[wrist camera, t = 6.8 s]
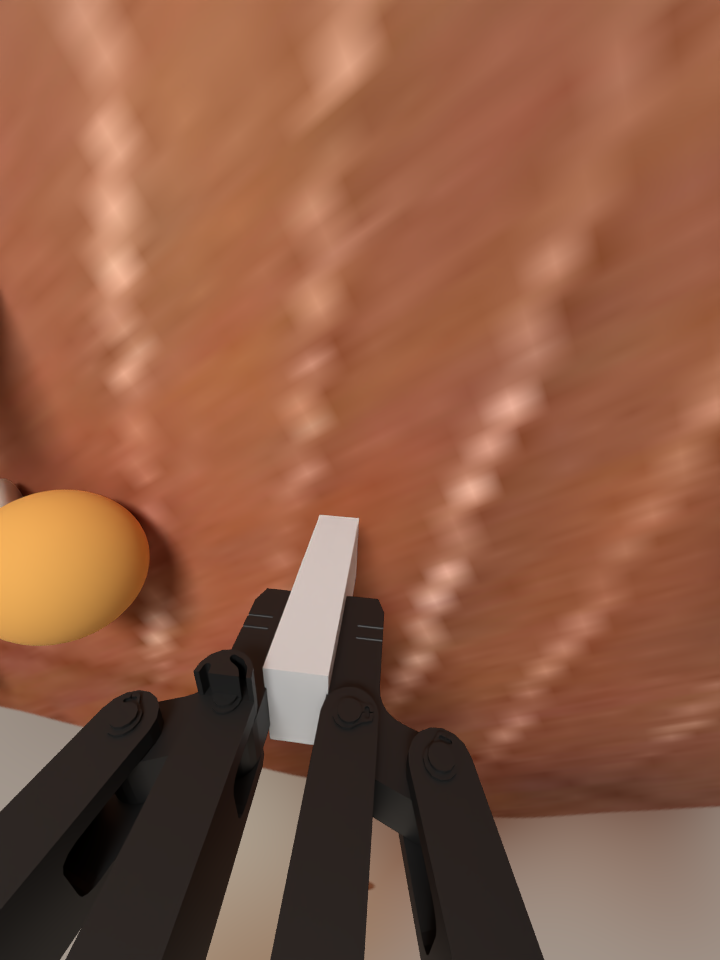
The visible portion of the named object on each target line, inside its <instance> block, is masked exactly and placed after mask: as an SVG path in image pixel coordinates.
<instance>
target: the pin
mask: <svg viewBox="0 0 720 960" xmlns="http://www.w3.org/2000/svg"><path fill="white" fill-rule="evenodd" d="M22 497H23V496H22V494H21V492H20V491H19V489H18V488H17V487H16V485H15V484H14V483H12V482H11V481H10V480H8V479H0V508H1V507H3V506H5V505H6V504H8V503H10V502H12V501H15V500H17V499H20V498H22Z"/></svg>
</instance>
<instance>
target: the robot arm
mask: <svg viewBox="0 0 720 960" xmlns="http://www.w3.org/2000/svg"><path fill="white" fill-rule="evenodd" d="M358 528H359V518H350V517H339V516H328V515H320V516H319V518H318V521H317V524H316V526H315V529H314V532H313V534H312V537H311V540H310V542H309V545H308V548H307V550H306V553H305V556H304V558H303V561H302V564H301V566H300V569H299V572H298V575H297V577H296V580H295V583H294V585H293V588H292V591H287V590H278V589H268V588H267V589H266V590H265V591H264V592H263V593H262V594H261V595H260V596H259V597H258V598H257V599H255V601H254V604H253V606H252V608H251V610H250V612H249V616H247V618H246V620H245V622H244V624H243V627H242V629H241V631H240V633H239V635H238V637H237V639H236V641H235V643H234V645H233V647H232V649H231V650H221V651H219V652H216V653H213V654H211V655H209V656H208V657H207V658H205V659H204V660H202V661H201V662H200V663H199V665H198V666H197V667H196V669H195V670H194V676H195V680H196V684H197V689H198V692H197V693H195V694H192V695H189V696H185V697H181V698H175V699H170V700H165V701H160V702H158V701H157V698H156V697H155V696H154V695H153V694H152V693H150V692H147V691H141V690H138V691H133V692H127V693H125V694H123V695H121V696H119V697H117V698H115V699H113V700H112V701H111V702H110V703H108V704H107V705H106V706H105V707H103V708H102V709H101V710H100V711H99V712H98V713H97V714H96V715H95V716H94V717H93V718H92V719H91V720H90V721H89V722H88V723H87V724H86V725H85V726H84V727H83V728H82V729H81V730H80V731H79V733H78V734H77V735H76V736H75V737H74V738H73V739H72V740H71V741H70V742H69V743H68V744H67V745H66V746H65V747H64V748H63V749H62V750H61V751H60V752H59V753H58V754H57V755H56V756H55V757H54V758H53V759H52V760H51V761H50V762H49V763H48V764H47V765H46V766H45V767H44V768H43V769H42V770H41V771H40V772H39V773H38V774H37V775H36V776H35V777H34V778H33V779H32V780H31V781H30V782H29V783H28V784H27V785H26V786H25V787H24V788H23V789H22V790H21V791H20V792H19V793H18V795H16V796H15V797H14V798H13V799H12V801H10V803H9V804H8V805H7V806H6V807H5V808H4V809H3V810H2V811H1V812H0V960H60V959H61V957H62V956H63V954H64V953H65V951H66V950H67V948H68V947H69V945H70V944H71V942H72V941H73V939H74V938H75V936H76V935H77V934H78V932H79V931H80V932H79V934H78V936H77V938H76V940H75V942H74V944H73V946H72V948H71V950H70V952H69V954H68V956H67V958H66V960H206V957H207V953H208V950H209V946H210V943H211V939H212V936H213V933H214V929H215V926H216V923H217V919H218V916H219V912H220V909H221V906H222V902H223V899H224V895H225V892H226V888H227V885H228V882H229V878H230V875H231V872H232V868H233V865H234V861H235V858H236V854H237V851H238V848H239V844H240V841H241V838H242V834H243V830H244V827H245V824H246V821H247V817H248V813H249V810H250V807H251V804H252V800H253V797H254V793H255V790H256V787H257V783H258V779H259V776H260V773H261V770H262V766H263V759H264V751H263V746H264V743H265V740H266V737H267V733H268V730H269V732H270V739H275V740H282V741H289V742H297V743H304V744H311V745H313V750H312V755H311V760H310V765H309V770H308V775H307V780H306V785H305V790H304V795H303V800H302V805H301V810H300V815H299V820H298V825H297V830H296V835H295V840H294V845H293V850H292V855H291V860H290V865H289V869H288V874H287V879H286V885H285V890H284V894H283V899H282V905H281V909H280V914H279V919H278V924H277V929H276V934H275V939H274V944H273V950H272V954H271V960H364V951H365V935H366V918H367V900H368V885H369V868H370V852H371V835H372V818H373V817H374V818H375V819H377V820H379V821H380V822H382V823H383V824H385V825H387V826H388V827H390V828H392V829H393V830H395V831H396V832H398V833H399V838H400V844H401V850H402V855H403V861H404V866H405V872H406V878H407V884H408V890H409V895H410V901H411V906H412V912H413V918H414V924H415V929H416V935H417V941H418V946H419V952H420V958H421V960H544V958H543V955H542V952H541V950H540V947H539V944H538V941H537V939H536V936H535V933H534V930H533V928H532V925H531V922H530V919H529V916H528V914H527V911H526V908H525V905H524V902H523V900H522V897H521V894H520V891H519V888H518V886H517V883H516V880H515V877H514V874H513V872H512V869H511V866H510V863H509V861H508V858H507V855H506V852H505V849H504V847H503V844H502V841H501V838H500V836H499V833H498V830H497V827H496V825H495V822H494V819H493V816H492V813H491V811H490V808H489V805H488V802H487V799H486V797H485V794H484V791H483V788H482V785H481V783H480V780H479V777H478V774H477V772H476V769H475V766H474V763H473V760H472V758H471V756H470V754H469V752H468V750H467V748H466V746H465V744H464V743H463V742H462V741H461V740H460V739H459V738H458V737H457V736H456V735H455V734H453V733H451V732H449V731H447V730H445V729H442V728H428V729H425V730H422V731H420V732H417V731H415V730H413V729H411V728H409V727H407V726H405V725H403V724H402V723H400V722H398V721H397V720H395V719H394V718H393V717H392V716H391V715H390V714H389V713H388V712H387V710H386V709H385V707H384V705H383V703H382V700H381V697H380V674H381V657H382V640H383V623H384V611H383V609H382V607H381V605H380V602H379V600H378V599H371V598H361V597H353V591H354V585H355V579H356V568H357V548H358ZM80 929H81V930H80Z"/></svg>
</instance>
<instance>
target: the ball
mask: <svg viewBox="0 0 720 960" xmlns="http://www.w3.org/2000/svg"><path fill="white" fill-rule="evenodd" d="M149 562H150V552H149V545H148V541H147V537H146V535H145V532H144V531H143V529H142V527H141V525H140V524H139V522H138V521H137V519H136V518H135V517H134V516H133V515H132V514H131V513H130V512H129V511H128V510H127V509H125V508H124V507H123V506H121V505H120V504H118V503H117V502H115V501H113V500H111V499H109V498H107V497H104V496H102V495H99V494H95V493H91V492H87V491H80V490H51V491H44V492H39V493H35V494H31V495H28V496H25V497H22V498H20V499H17V500H15V501H12V502H10V503H8V504H6V505H5V506H3V507H1V508H0V639H2V640H5V641H9V642H13V643H17V644H22V645H33V646H43V645H55V644H61V643H66V642H71V641H74V640H77V639H80V638H83V637H85V636H88V635H90V634H92V633H95V632H97V631H98V630H100V629H102V628H104V627H105V626H107V625H108V624H110V623H111V622H113V621H114V620H115V619H117V618H118V617H119V616H120V615H121V614H122V613H123V612H124V611H125V610H126V609H127V608H128V607H129V606H130V605H131V604H132V602H133V601H134V600H135V599H136V597H137V596H138V594H139V592H140V590H141V589H142V587H143V585H144V582H145V579H146V577H147V573H148V568H149Z"/></svg>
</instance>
